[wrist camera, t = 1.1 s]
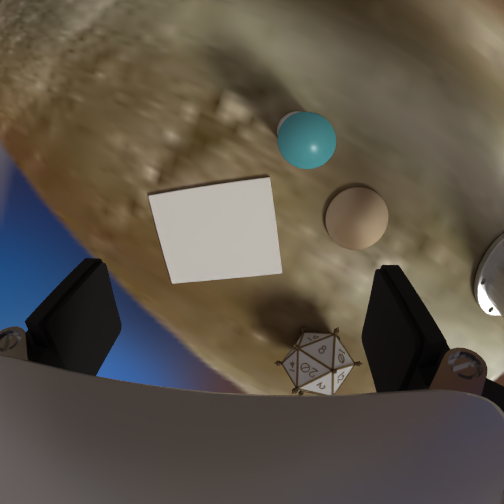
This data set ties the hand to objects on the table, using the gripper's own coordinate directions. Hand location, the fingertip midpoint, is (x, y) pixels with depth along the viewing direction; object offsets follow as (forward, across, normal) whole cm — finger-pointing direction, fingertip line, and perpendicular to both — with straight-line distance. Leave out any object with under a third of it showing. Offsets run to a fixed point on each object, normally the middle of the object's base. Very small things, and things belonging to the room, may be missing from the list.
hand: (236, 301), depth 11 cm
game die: (+21, -7, +20) cm, 29 cm away
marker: (+21, -3, -4) cm, 21 cm away
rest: (+21, -10, +4) cm, 23 cm away
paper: (+21, +4, +6) cm, 22 cm away
